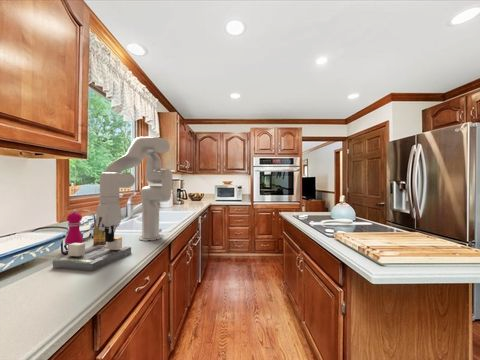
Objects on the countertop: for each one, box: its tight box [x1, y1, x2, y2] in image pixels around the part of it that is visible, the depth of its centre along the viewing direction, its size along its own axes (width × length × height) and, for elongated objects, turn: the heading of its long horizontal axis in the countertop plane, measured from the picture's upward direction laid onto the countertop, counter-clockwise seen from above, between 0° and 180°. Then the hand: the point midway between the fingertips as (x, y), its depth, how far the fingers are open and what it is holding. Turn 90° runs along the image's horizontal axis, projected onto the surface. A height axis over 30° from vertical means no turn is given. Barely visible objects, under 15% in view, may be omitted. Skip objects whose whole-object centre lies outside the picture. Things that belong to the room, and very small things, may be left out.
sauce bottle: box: [92, 218, 107, 246], centre depth 121 cm, size 6×6×20 cm
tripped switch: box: [106, 236, 123, 250], centre depth 101 cm, size 3×5×5 cm, turn 80°
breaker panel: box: [52, 244, 132, 273], centre depth 96 cm, size 22×18×3 cm
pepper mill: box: [64, 209, 84, 245], centre depth 110 cm, size 7×7×20 cm
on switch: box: [67, 242, 86, 256], centre depth 92 cm, size 3×5×4 cm, turn 80°
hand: (109, 241), depth 98 cm, fingers closed
